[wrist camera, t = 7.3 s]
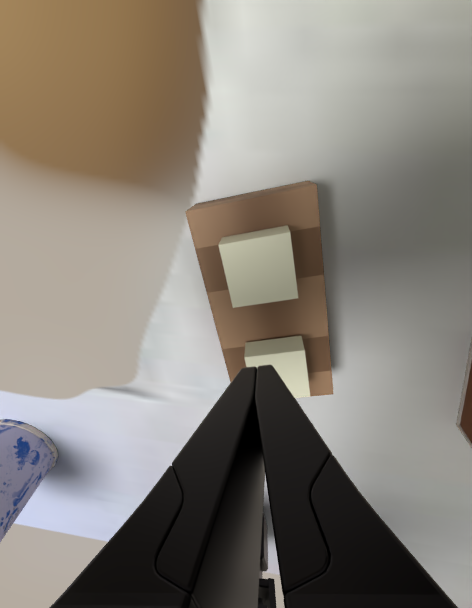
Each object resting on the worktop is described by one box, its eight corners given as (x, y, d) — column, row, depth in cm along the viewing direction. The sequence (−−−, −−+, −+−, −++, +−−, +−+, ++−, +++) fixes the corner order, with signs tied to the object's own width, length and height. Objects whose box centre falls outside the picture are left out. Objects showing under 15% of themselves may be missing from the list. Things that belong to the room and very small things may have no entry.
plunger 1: (238, 277, 21) (232, 307, 16) (227, 226, 19) (218, 245, 15) (290, 268, 20) (298, 298, 16) (283, 215, 19) (290, 232, 14)
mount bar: (239, 376, 25) (236, 403, 22) (196, 203, 19) (185, 211, 16) (325, 367, 24) (333, 394, 21) (308, 180, 18) (316, 184, 15)
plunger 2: (255, 358, 24) (254, 401, 19) (247, 319, 22) (244, 357, 18) (301, 352, 23) (310, 396, 19) (296, 312, 22) (304, 350, 17)
